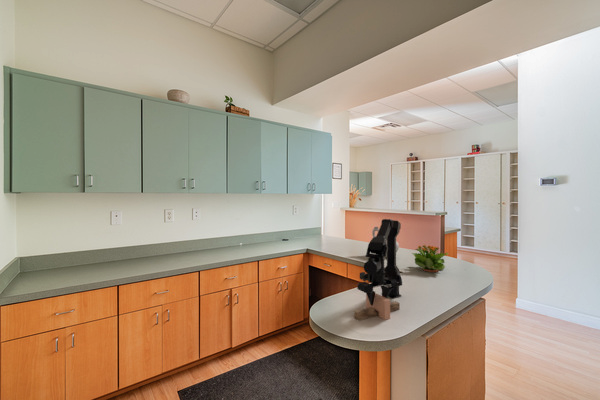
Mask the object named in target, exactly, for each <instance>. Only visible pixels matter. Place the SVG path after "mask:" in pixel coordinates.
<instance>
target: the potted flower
mask: <svg viewBox="0 0 600 400" xmlns="http://www.w3.org/2000/svg"><path fill="white" fill-rule="evenodd" d="M439 249H440V248H439V246H438V247H437V246H434V245H426V244H423V245H422V246H421V245H418V246H417V248H416V249H414V250H415V251H418V252H415V253H414V252H412V255H413V256H414V257H415V258H414V263H415V265H416V266H417V267H419V268H421V269H423V271H425V272H428V273H437V272H438V271H443V270H444V269H445V268H446V265H445V263H446V262H445V259H444V258H443V257H444V256H446V255H449V252H440V253H439ZM437 252H438V253H437Z"/></svg>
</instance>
